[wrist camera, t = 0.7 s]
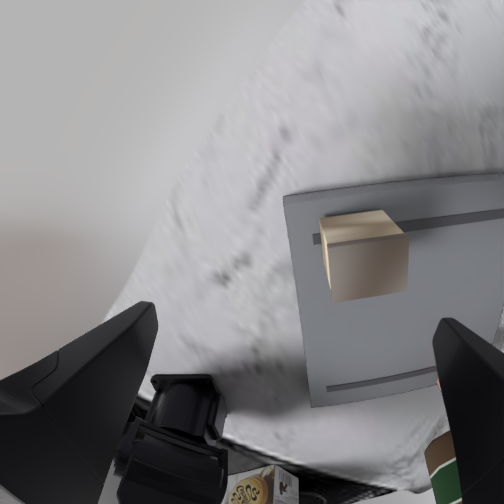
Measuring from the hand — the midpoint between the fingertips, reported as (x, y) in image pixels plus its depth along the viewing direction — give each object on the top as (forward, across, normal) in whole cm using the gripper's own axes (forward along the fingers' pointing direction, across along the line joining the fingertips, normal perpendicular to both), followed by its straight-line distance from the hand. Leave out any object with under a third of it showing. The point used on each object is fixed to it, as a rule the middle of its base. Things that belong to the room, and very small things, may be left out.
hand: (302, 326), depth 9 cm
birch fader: (+11, -4, +2) cm, 12 cm away
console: (+13, -10, +8) cm, 18 cm away
